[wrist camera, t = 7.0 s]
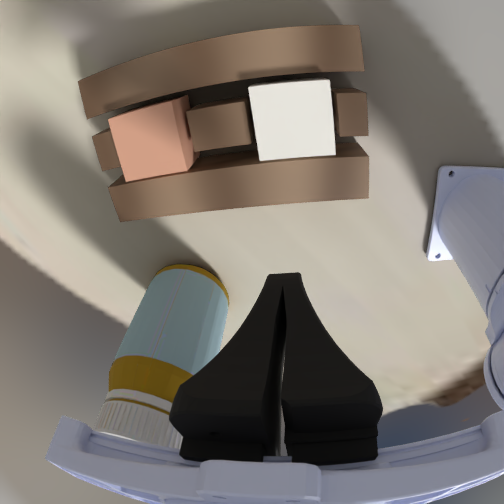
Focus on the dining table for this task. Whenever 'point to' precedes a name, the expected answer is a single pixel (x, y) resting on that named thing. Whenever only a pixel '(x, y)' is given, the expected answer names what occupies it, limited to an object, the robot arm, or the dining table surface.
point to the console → (236, 122)
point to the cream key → (293, 118)
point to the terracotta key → (154, 139)
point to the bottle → (163, 353)
